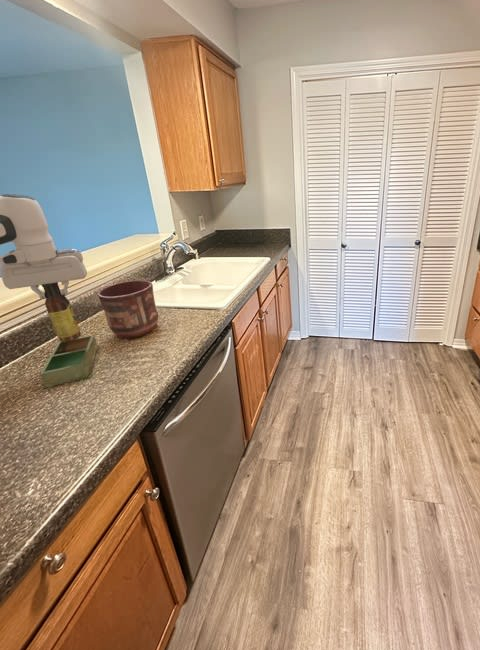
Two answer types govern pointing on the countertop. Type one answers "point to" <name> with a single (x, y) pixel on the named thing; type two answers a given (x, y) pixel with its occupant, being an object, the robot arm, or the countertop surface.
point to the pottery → (130, 308)
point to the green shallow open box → (70, 361)
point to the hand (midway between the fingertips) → (54, 296)
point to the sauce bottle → (61, 313)
